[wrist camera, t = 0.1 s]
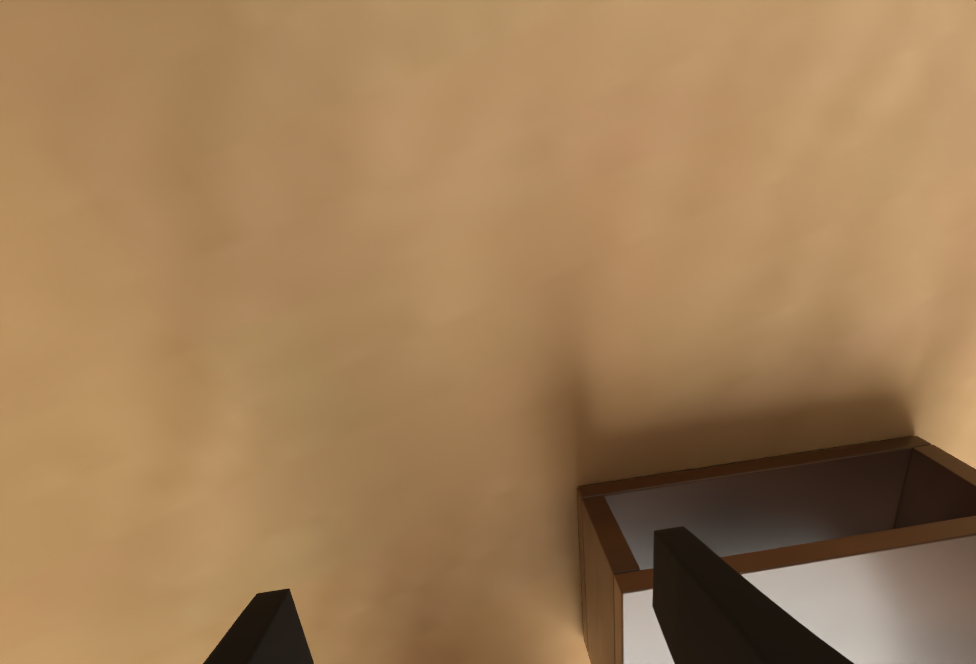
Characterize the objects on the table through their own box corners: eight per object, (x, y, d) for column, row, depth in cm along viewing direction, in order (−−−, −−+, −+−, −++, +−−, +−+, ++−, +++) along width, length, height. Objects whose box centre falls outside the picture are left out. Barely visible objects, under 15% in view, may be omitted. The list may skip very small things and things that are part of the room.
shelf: (879, 589, 26) (993, 700, 20) (583, 639, 25) (623, 769, 19) (916, 434, 22) (1064, 519, 17) (576, 486, 21) (621, 593, 16)
